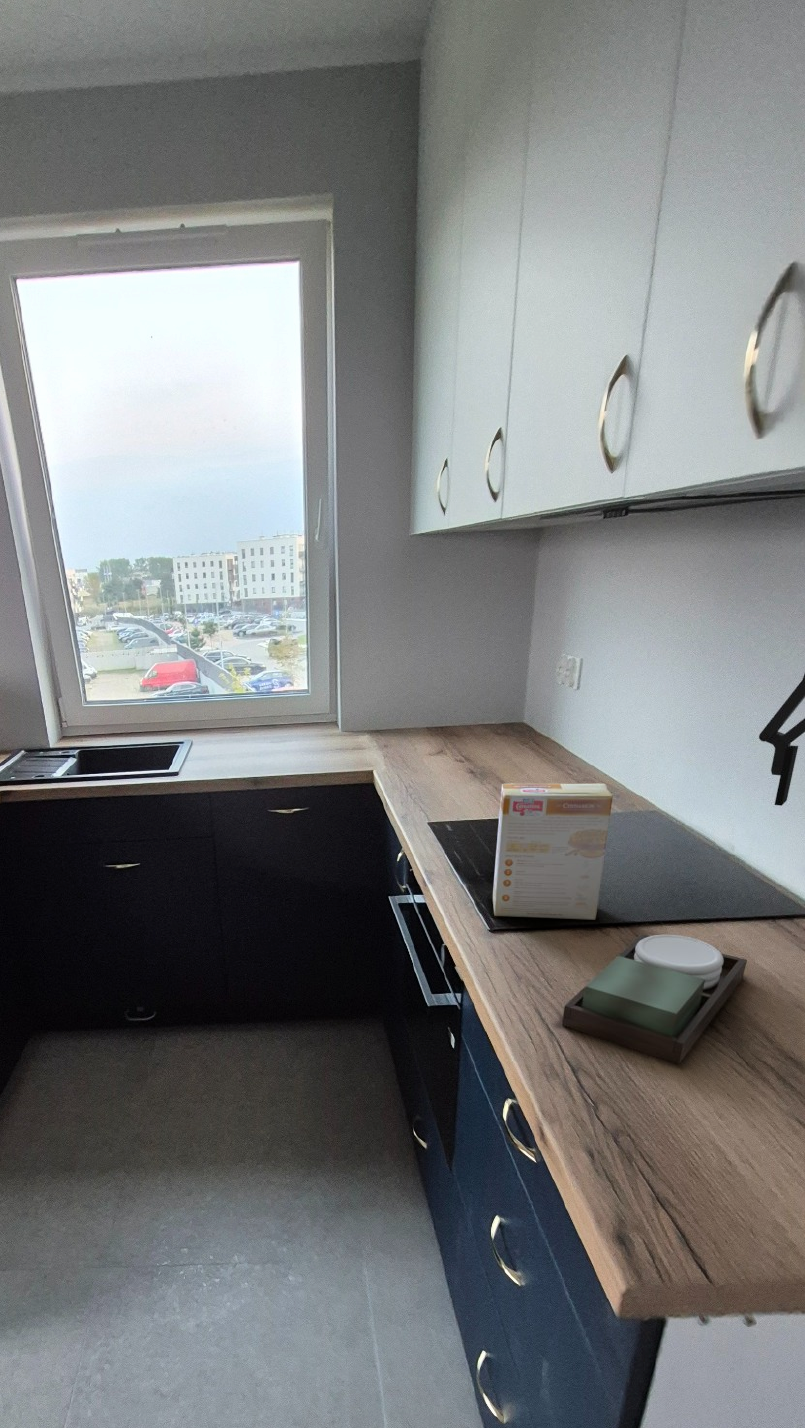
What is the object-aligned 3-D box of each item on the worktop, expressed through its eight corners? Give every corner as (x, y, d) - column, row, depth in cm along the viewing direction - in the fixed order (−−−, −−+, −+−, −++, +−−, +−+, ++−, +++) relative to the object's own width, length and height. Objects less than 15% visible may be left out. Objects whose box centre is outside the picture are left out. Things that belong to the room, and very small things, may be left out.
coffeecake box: (589, 903, 127) (606, 782, 119) (596, 921, 121) (615, 795, 112) (491, 899, 130) (501, 781, 122) (493, 917, 124) (504, 794, 116)
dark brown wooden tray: (742, 978, 103) (751, 942, 101) (678, 1064, 87) (687, 1023, 85) (638, 950, 111) (644, 916, 109) (561, 1025, 95) (567, 987, 93)
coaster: (622, 955, 108) (626, 932, 106) (702, 957, 106) (707, 933, 105) (644, 992, 99) (649, 966, 97) (731, 994, 97) (737, 969, 96)
